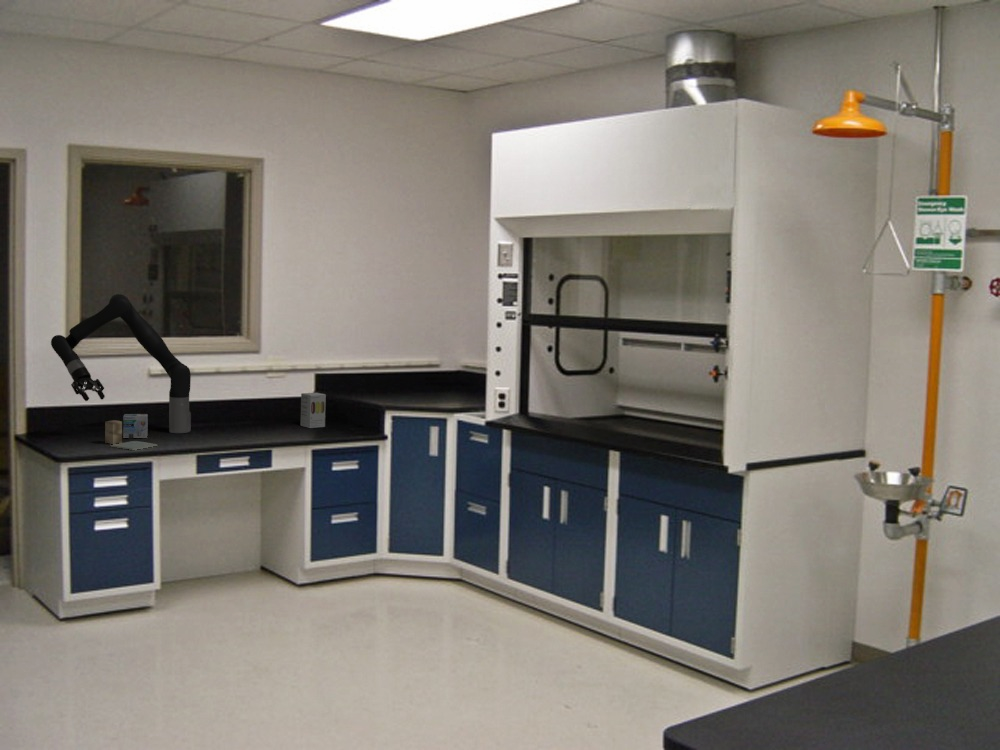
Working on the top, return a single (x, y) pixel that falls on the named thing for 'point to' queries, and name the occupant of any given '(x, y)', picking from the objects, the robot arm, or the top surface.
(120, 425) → the beech block
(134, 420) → the light bulb box
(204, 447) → the top surface
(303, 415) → the supplement box
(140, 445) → the sage tile
